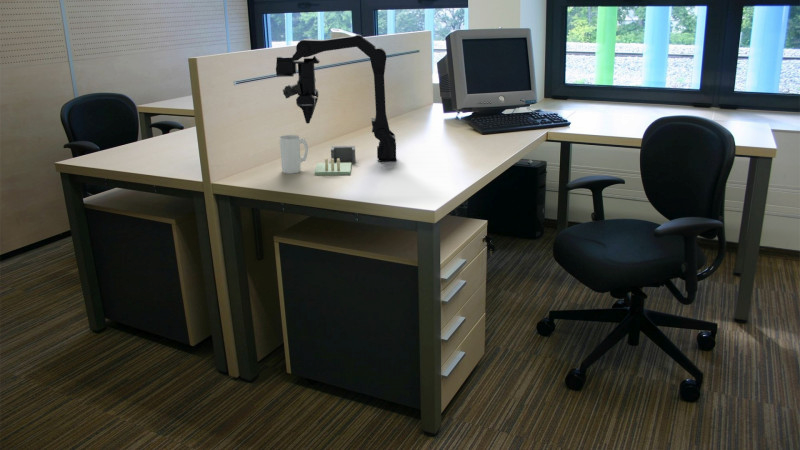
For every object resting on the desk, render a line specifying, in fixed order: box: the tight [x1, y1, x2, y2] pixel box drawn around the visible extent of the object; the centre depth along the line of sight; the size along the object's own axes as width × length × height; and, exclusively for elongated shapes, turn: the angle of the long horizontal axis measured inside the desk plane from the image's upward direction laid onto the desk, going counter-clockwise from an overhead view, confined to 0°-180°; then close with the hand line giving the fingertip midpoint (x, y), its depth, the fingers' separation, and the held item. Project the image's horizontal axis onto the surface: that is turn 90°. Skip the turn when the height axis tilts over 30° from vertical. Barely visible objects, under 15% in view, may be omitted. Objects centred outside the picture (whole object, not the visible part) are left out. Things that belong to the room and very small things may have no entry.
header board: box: [314, 158, 352, 176], centre depth 228 cm, size 12×12×5 cm
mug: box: [279, 134, 309, 175], centre depth 226 cm, size 10×7×12 cm, turn 124°
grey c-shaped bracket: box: [330, 145, 356, 164], centre depth 239 cm, size 6×8×5 cm
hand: (308, 120), depth 236 cm, fingers open, 9 cm apart
